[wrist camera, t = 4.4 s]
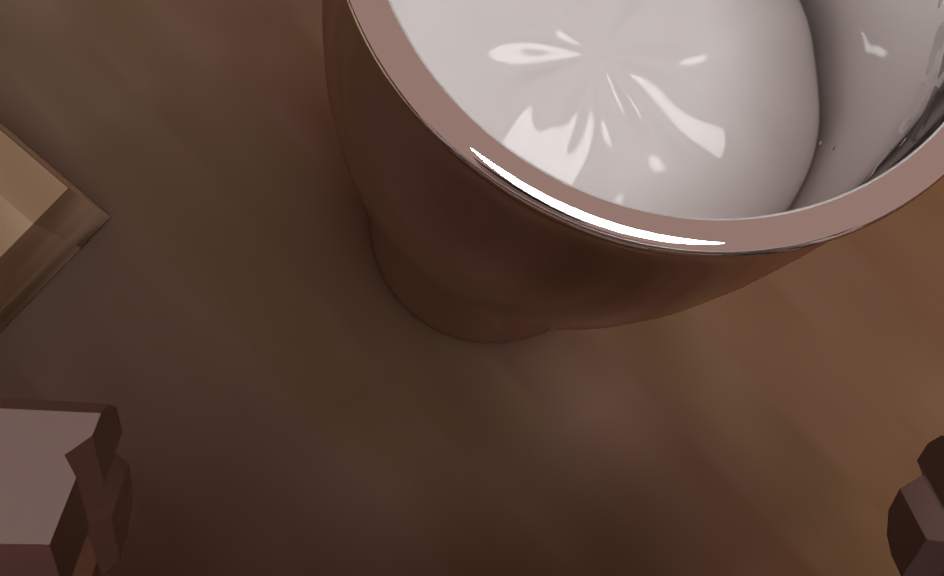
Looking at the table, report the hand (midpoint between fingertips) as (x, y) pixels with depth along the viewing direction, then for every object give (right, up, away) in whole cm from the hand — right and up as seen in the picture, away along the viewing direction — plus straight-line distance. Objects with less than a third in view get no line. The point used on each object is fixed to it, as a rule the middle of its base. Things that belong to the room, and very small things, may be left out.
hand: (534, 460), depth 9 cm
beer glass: (0, +3, +14) cm, 14 cm away
